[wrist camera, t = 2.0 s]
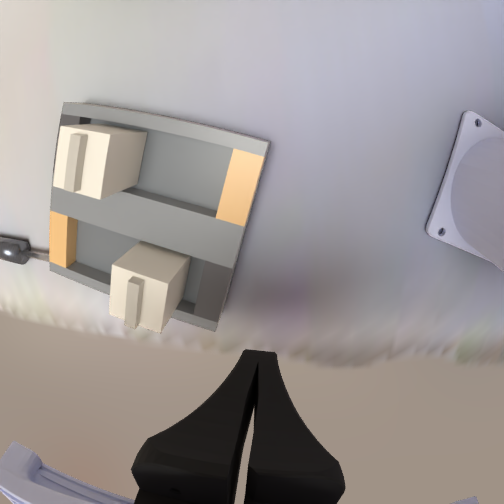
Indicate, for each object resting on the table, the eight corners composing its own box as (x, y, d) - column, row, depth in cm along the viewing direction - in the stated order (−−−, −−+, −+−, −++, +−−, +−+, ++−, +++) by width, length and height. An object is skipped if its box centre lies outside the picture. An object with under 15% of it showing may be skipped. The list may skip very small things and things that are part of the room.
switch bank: (271, 141, 17) (268, 142, 15) (222, 312, 21) (215, 331, 19) (84, 102, 17) (63, 102, 15) (67, 258, 21) (49, 270, 19)
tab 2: (192, 252, 18) (163, 289, 14) (183, 296, 19) (156, 340, 15) (144, 237, 18) (106, 269, 14) (138, 281, 19) (104, 320, 15)
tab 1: (147, 132, 16) (103, 135, 12) (137, 184, 17) (93, 202, 13) (103, 123, 16) (52, 126, 12) (94, 173, 17) (45, 188, 13)
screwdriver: (86, 247, 20) (72, 257, 19) (89, 271, 21) (75, 281, 19) (-3, 232, 21) (-17, 239, 19) (0, 252, 22) (-13, 259, 20)
